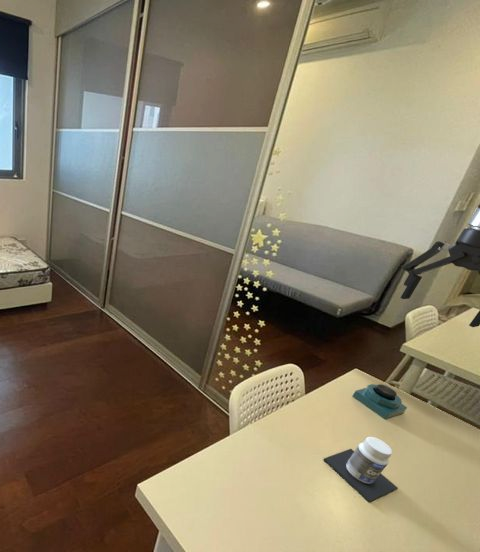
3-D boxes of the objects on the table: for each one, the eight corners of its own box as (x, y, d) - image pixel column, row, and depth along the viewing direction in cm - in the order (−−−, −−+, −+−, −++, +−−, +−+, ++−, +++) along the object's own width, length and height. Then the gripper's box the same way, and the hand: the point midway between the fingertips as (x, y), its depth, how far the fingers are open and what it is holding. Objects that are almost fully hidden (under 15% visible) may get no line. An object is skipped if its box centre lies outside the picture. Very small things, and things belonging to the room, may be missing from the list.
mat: (397, 489, 64) (398, 487, 64) (369, 502, 61) (370, 501, 61) (350, 449, 72) (351, 448, 71) (323, 459, 68) (324, 458, 68)
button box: (403, 413, 84) (411, 402, 82) (384, 419, 81) (392, 408, 80) (369, 391, 91) (376, 380, 89) (351, 396, 88) (358, 385, 86)
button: (396, 399, 84) (400, 393, 83) (387, 401, 82) (391, 396, 81) (379, 388, 87) (382, 383, 86) (370, 390, 86) (373, 385, 85)
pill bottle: (363, 486, 63) (384, 458, 60) (339, 464, 67) (358, 436, 64) (379, 482, 64) (401, 454, 61) (356, 460, 69) (375, 433, 65)
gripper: (413, 215, 81) (373, 289, 90) (573, 249, 60) (501, 342, 69) (429, 216, 84) (389, 287, 92) (589, 249, 63) (517, 338, 71)
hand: (436, 311), depth 81 cm, fingers open, 13 cm apart
